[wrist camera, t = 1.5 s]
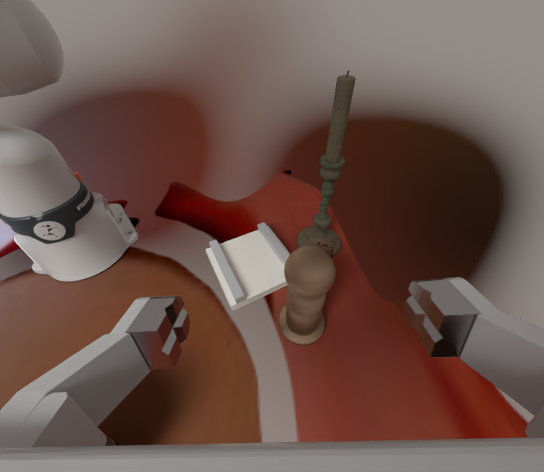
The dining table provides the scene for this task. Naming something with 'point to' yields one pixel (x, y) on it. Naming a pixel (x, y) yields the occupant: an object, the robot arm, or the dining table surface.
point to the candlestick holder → (330, 171)
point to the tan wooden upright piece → (306, 294)
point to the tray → (249, 265)
